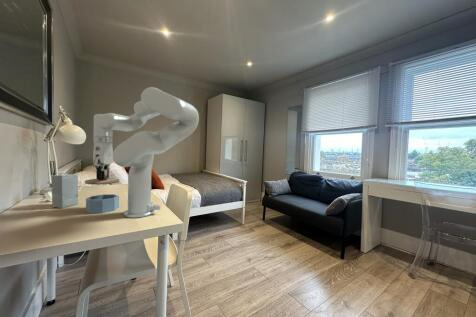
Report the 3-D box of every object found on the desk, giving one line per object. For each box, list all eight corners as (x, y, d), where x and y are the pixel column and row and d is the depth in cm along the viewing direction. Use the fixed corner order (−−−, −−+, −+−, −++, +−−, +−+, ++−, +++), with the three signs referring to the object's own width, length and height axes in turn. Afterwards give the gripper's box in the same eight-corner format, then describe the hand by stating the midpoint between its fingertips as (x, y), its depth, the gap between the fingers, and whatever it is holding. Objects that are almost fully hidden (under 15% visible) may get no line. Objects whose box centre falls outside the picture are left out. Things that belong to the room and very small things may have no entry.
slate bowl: (121, 205, 103) (121, 194, 103) (110, 212, 91) (110, 199, 91) (95, 206, 101) (95, 194, 101) (81, 213, 89) (81, 200, 89)
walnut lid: (123, 180, 103) (123, 168, 103) (111, 184, 90) (111, 171, 90) (95, 179, 101) (95, 168, 101) (77, 184, 88) (77, 170, 88)
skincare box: (62, 208, 96) (62, 175, 95) (50, 207, 97) (50, 175, 96) (79, 204, 104) (79, 173, 103) (68, 202, 105) (68, 173, 105)
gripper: (103, 140, 87) (102, 181, 88) (119, 141, 104) (118, 176, 104) (84, 139, 86) (83, 181, 87) (103, 141, 102) (102, 176, 103)
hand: (102, 178), depth 96 cm, fingers closed on walnut lid, 3 cm apart
